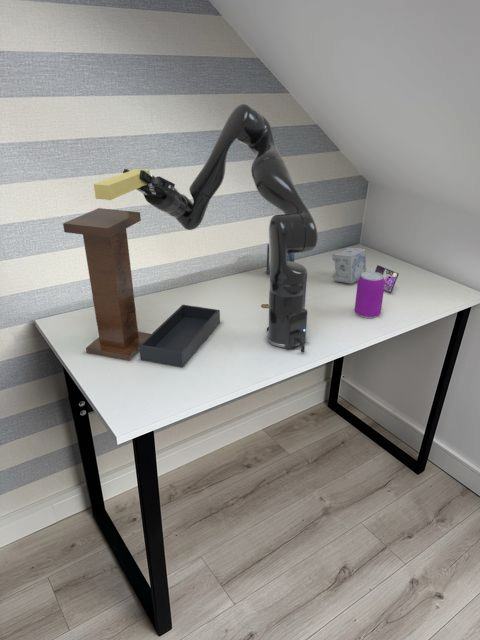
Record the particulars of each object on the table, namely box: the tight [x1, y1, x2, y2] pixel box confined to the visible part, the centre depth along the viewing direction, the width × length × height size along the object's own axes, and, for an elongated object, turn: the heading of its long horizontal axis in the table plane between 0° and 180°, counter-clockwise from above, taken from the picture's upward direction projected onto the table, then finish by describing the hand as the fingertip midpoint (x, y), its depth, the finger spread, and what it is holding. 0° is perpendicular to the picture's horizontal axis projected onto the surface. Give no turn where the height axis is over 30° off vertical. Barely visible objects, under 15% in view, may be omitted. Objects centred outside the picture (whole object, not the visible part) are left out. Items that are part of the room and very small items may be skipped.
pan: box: [139, 304, 221, 368], centre depth 134 cm, size 25×11×4 cm, turn 163°
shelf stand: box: [62, 207, 152, 362], centre depth 123 cm, size 14×12×33 cm
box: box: [266, 243, 295, 276], centre depth 175 cm, size 8×6×11 cm
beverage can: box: [354, 270, 386, 319], centre depth 148 cm, size 8×8×12 cm
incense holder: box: [332, 247, 367, 284], centre depth 171 cm, size 10×8×10 cm
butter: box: [93, 168, 151, 201], centre depth 121 cm, size 19×4×3 cm, turn 163°
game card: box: [374, 264, 399, 294], centre depth 167 cm, size 7×5×9 cm
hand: (133, 173), depth 124 cm, fingers closed on butter, 4 cm apart
